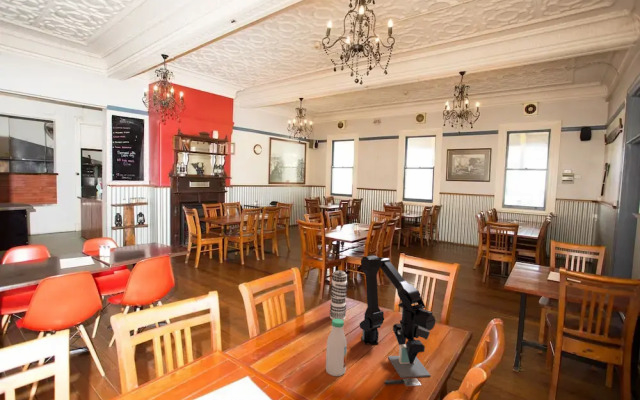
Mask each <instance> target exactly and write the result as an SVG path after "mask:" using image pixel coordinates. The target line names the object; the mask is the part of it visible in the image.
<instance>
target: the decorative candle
mask: <svg viewBox="0 0 640 400" xmlns="http://www.w3.org/2000/svg"><path fill="white" fill-rule="evenodd" d="M331 274H332V279H331V283H330V297H331V300H330V307H329V308H330V309H329V318H330V319H331V320H333V319H341V320H343V321H344V320H346V316H347V313H346V312H347V311H346V310H347V303H346V299H347V296H348V295H347V293H348V286H349V285H348V281H347V278H348V277H347V276H348V274H347V273H346V272H345V271H344V270H335V271H333V273H331Z"/></svg>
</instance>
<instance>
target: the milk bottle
mask: <svg viewBox="0 0 640 400" xmlns="http://www.w3.org/2000/svg"><path fill="white" fill-rule="evenodd" d="M344 325H345V321H344V320H341V319H331V330H330V333H329V334H328V337H327V341H326V354H325V371H326V373H327V374H328V375H329V376H331V377H341V376H342V375H345V373H346V367H347V348H348V347H347V345H348V343H347V337H346V335H345V331H344Z"/></svg>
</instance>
